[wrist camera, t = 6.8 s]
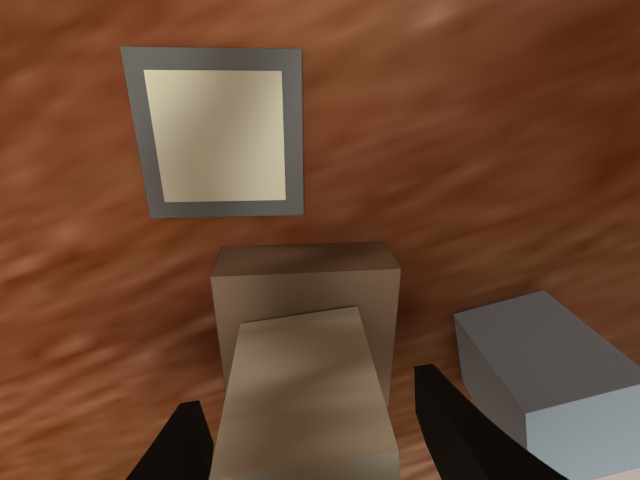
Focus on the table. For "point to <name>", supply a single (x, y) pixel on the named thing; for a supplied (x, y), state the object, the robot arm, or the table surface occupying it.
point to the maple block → (305, 404)
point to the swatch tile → (218, 129)
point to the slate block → (552, 385)
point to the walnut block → (308, 292)
